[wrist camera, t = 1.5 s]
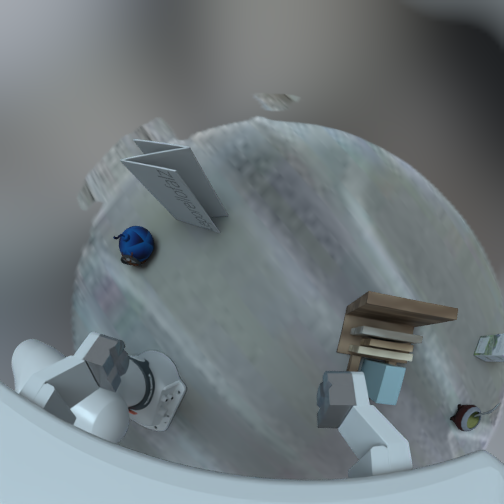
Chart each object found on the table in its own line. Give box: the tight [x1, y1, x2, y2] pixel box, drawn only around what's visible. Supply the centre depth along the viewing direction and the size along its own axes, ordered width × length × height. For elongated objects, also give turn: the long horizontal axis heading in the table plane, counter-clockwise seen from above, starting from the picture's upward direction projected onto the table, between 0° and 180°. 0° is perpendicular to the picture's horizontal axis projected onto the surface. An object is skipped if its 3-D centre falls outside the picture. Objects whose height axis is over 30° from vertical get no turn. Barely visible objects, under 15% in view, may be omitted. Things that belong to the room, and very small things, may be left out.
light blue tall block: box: [361, 359, 406, 405], centre depth 49 cm, size 7×4×18 cm, turn 165°
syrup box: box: [474, 334, 504, 362], centre depth 46 cm, size 6×6×14 cm
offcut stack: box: [348, 326, 423, 361], centre depth 53 cm, size 5×13×13 cm, turn 75°
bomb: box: [113, 226, 154, 266], centre depth 70 cm, size 10×11×15 cm
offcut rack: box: [337, 291, 458, 372], centre depth 49 cm, size 19×18×22 cm
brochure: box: [120, 139, 228, 233], centre depth 63 cm, size 14×6×30 cm, turn 69°
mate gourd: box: [450, 403, 500, 431], centre depth 42 cm, size 8×8×15 cm
